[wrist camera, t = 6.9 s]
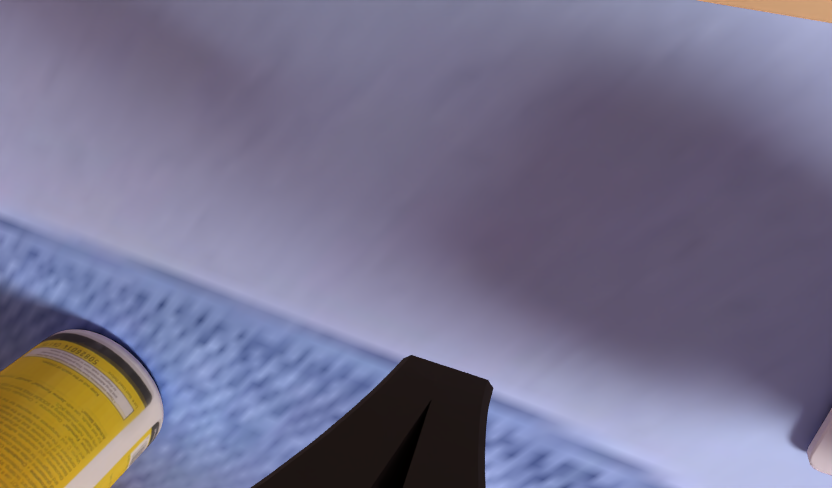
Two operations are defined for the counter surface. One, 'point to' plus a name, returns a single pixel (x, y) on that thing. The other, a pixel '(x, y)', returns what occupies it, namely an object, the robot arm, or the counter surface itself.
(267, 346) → the counter surface
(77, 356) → the pill bottle
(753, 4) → the mailer box
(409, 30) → the counter surface
